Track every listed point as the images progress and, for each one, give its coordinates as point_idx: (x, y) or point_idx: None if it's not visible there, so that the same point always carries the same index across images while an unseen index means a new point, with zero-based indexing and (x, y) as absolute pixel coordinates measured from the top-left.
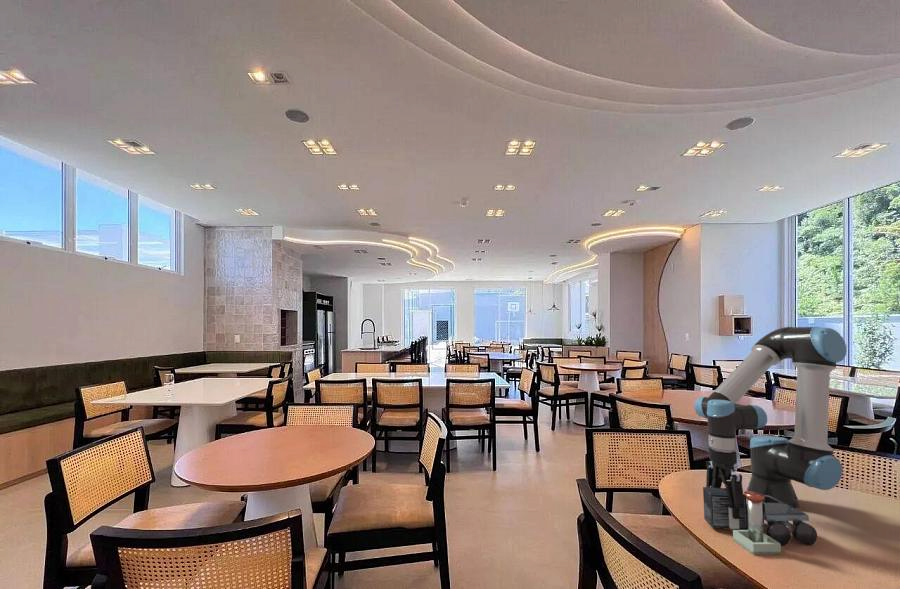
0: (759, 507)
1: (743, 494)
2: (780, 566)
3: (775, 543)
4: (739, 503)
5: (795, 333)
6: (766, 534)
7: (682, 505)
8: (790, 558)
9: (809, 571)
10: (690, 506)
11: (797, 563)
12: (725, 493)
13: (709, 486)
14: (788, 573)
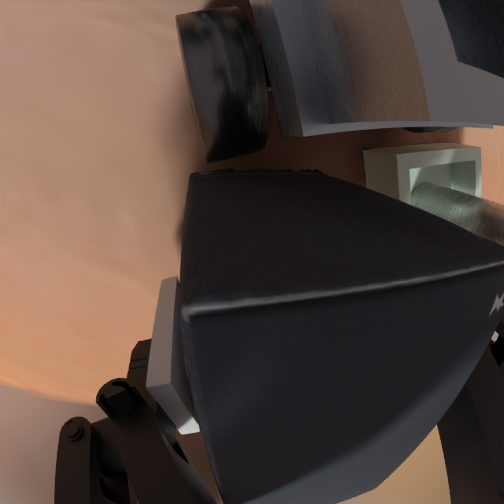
0: None
1: (498, 281)
2: (484, 197)
3: (480, 168)
4: (501, 339)
5: None
6: (408, 130)
7: (43, 366)
8: (460, 127)
9: (494, 131)
10: (34, 341)
11: (475, 130)
12: (408, 448)
13: (132, 492)
14: (498, 198)
